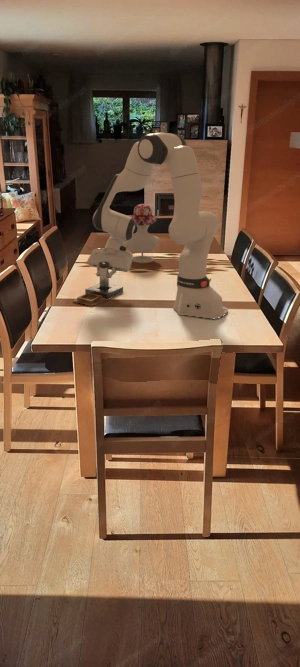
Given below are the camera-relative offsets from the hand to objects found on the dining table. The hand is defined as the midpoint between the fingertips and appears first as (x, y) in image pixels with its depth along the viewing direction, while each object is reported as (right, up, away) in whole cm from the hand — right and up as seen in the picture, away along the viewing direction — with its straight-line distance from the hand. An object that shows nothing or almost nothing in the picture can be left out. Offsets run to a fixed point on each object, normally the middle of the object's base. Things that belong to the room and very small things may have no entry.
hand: (103, 276), depth 221 cm
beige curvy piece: (+16, +17, +60) cm, 65 cm away
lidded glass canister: (0, -7, +4) cm, 8 cm away
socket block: (0, -7, +4) cm, 8 cm away
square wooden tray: (-5, -11, -6) cm, 14 cm away
